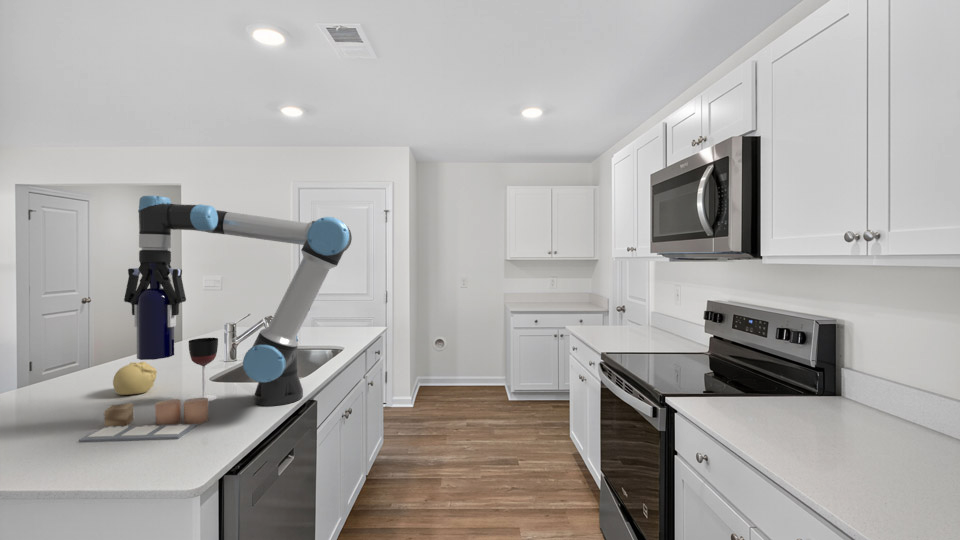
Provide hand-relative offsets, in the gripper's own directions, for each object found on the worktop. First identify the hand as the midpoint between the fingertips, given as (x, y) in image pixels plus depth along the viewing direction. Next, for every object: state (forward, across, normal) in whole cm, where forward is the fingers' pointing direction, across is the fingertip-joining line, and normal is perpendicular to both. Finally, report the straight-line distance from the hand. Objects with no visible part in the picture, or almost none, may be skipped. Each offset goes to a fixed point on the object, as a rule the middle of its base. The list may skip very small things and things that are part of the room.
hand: (155, 326), depth 130 cm
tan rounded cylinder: (+27, -13, +2) cm, 30 cm away
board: (+27, -3, +11) cm, 30 cm away
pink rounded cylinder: (+27, -6, +4) cm, 28 cm away
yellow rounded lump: (+28, +24, -26) cm, 45 cm away
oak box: (+28, +8, +4) cm, 29 cm away
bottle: (+9, 0, 0) cm, 9 cm away
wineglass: (+28, -4, -18) cm, 33 cm away
